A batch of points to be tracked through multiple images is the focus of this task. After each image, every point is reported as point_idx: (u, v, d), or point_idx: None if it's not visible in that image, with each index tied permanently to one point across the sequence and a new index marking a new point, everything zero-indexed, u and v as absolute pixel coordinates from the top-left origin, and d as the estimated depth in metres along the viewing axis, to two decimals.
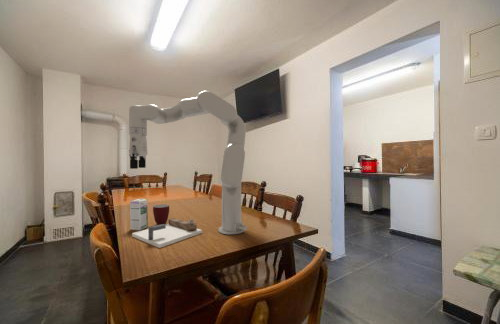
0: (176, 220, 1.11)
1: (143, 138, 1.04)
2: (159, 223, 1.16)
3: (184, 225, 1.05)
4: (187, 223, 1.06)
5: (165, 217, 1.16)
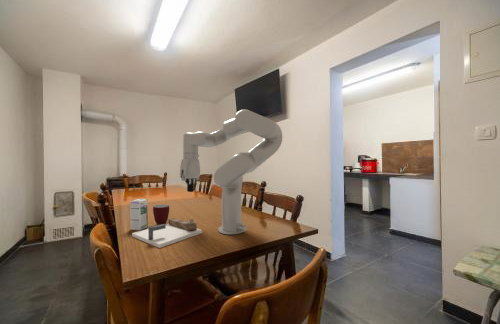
0: (176, 220, 1.11)
1: None
2: (159, 223, 1.16)
3: (184, 225, 1.05)
4: (187, 223, 1.06)
5: (165, 217, 1.16)
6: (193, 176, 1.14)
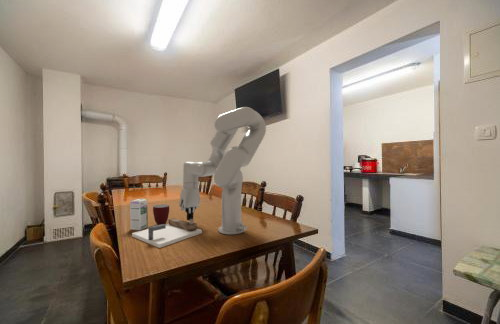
0: (176, 220, 1.11)
1: None
2: (159, 223, 1.16)
3: (184, 225, 1.05)
4: (187, 223, 1.06)
5: (165, 217, 1.16)
6: (193, 205, 1.15)
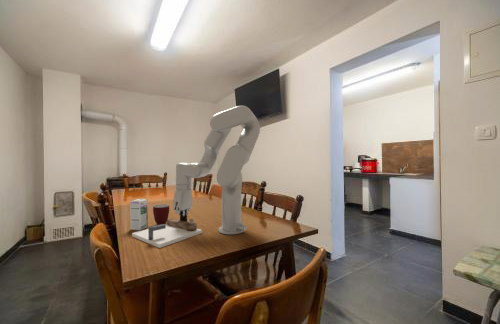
0: (175, 220, 1.11)
1: None
2: (159, 223, 1.16)
3: (184, 225, 1.05)
4: (187, 223, 1.06)
5: (165, 217, 1.16)
6: (187, 207, 1.12)
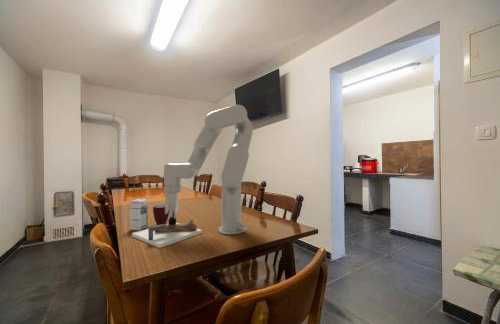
0: (166, 225, 1.02)
1: None
2: (159, 223, 1.16)
3: (184, 227, 1.03)
4: (185, 224, 1.04)
5: (165, 217, 1.16)
6: None
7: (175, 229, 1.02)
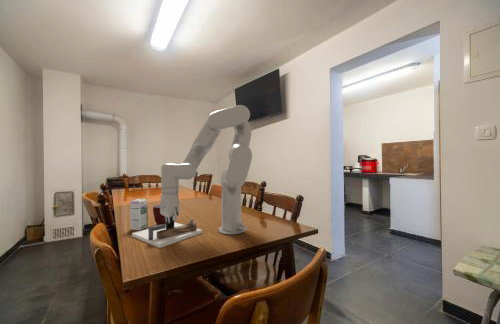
0: (169, 229, 0.96)
1: (163, 197, 0.99)
2: (159, 223, 1.16)
3: (187, 228, 1.01)
4: (187, 225, 1.03)
5: None
6: None
7: (179, 231, 0.99)
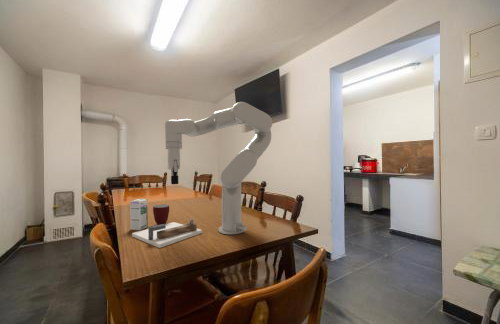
0: (169, 229, 0.96)
1: None
2: (159, 223, 1.16)
3: (187, 228, 1.01)
4: (187, 225, 1.03)
5: (165, 217, 1.16)
6: (178, 167, 1.08)
7: (179, 231, 0.99)
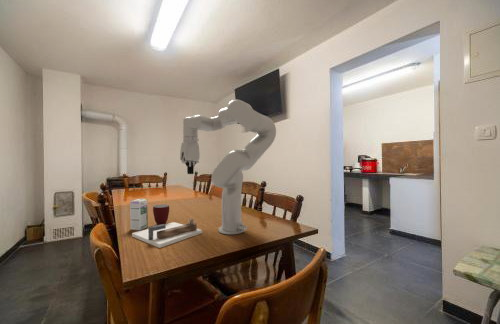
0: (169, 229, 0.96)
1: None
2: (159, 223, 1.16)
3: (187, 228, 1.01)
4: (187, 225, 1.03)
5: (165, 217, 1.16)
6: (193, 159, 1.19)
7: (179, 231, 0.99)
